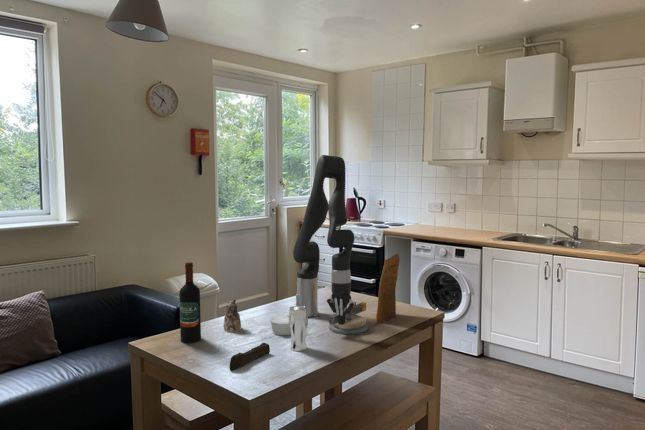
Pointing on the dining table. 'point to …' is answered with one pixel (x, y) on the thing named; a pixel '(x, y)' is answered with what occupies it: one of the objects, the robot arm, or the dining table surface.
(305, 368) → the dining table surface
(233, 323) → the figurine
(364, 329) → the dial plinth
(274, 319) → the ramekin
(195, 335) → the wine bottle
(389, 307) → the pancake mix bag
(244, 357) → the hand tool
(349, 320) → the capstan dial
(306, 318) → the beer glass
